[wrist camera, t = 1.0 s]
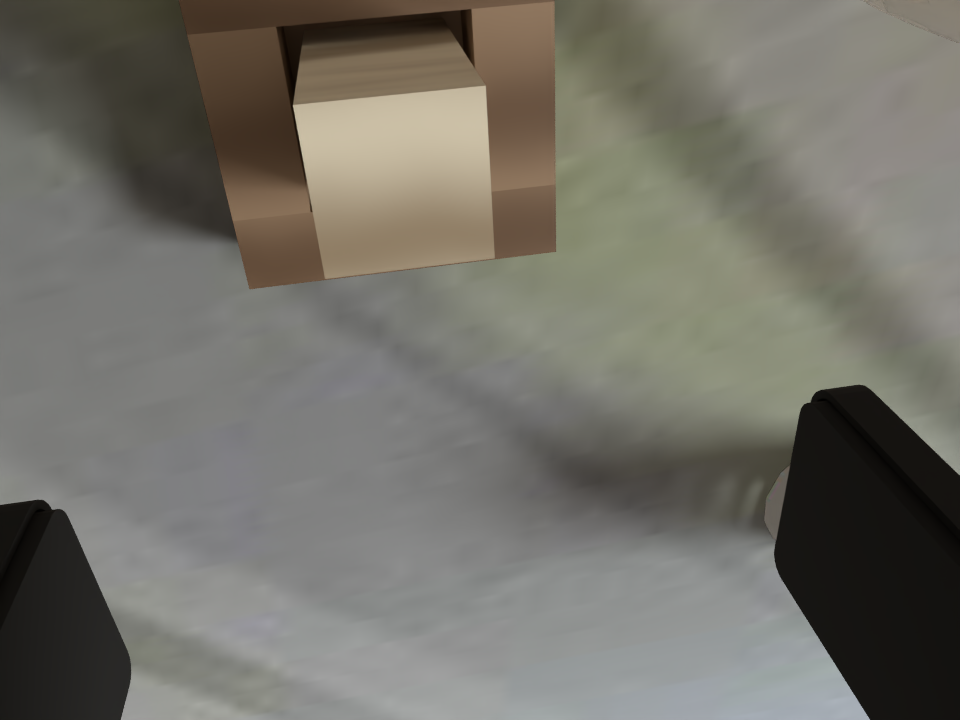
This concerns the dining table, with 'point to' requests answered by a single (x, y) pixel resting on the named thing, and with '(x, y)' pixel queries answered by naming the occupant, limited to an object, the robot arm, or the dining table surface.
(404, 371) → the dining table surface
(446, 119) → the birch peg
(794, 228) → the dining table surface
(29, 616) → the robot arm
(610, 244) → the dining table surface
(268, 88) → the walnut holder
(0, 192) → the dining table surface
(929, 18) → the white cup
